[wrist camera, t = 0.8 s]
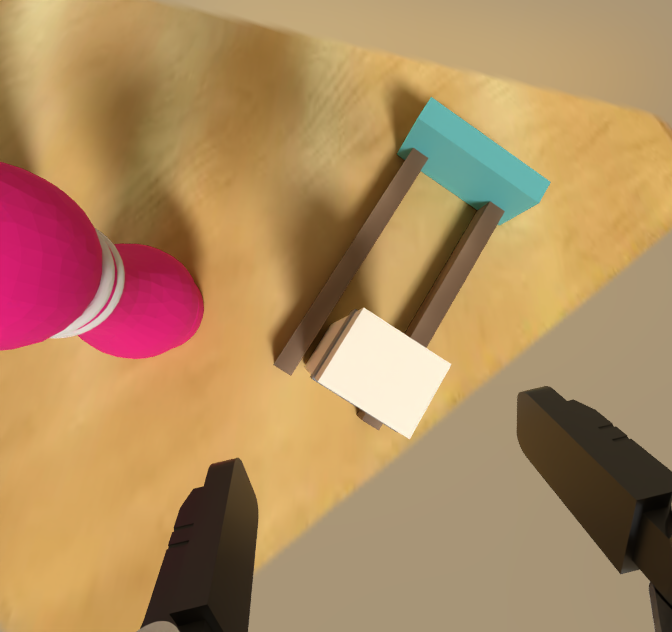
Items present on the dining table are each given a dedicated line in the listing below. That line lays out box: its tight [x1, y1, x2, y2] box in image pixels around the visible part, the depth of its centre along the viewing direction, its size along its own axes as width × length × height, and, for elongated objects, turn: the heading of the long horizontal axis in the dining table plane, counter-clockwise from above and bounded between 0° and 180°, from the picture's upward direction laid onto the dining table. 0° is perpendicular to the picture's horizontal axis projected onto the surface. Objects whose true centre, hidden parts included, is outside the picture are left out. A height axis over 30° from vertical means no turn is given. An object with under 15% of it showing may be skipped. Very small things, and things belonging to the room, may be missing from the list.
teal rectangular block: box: [397, 97, 550, 225], centre depth 29 cm, size 11×2×5 cm, turn 58°
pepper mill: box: [0, 162, 204, 359], centre depth 17 cm, size 7×7×20 cm
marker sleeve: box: [304, 308, 451, 439], centre depth 22 cm, size 5×4×12 cm
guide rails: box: [274, 148, 505, 430], centre depth 29 cm, size 9×22×2 cm, turn 148°
